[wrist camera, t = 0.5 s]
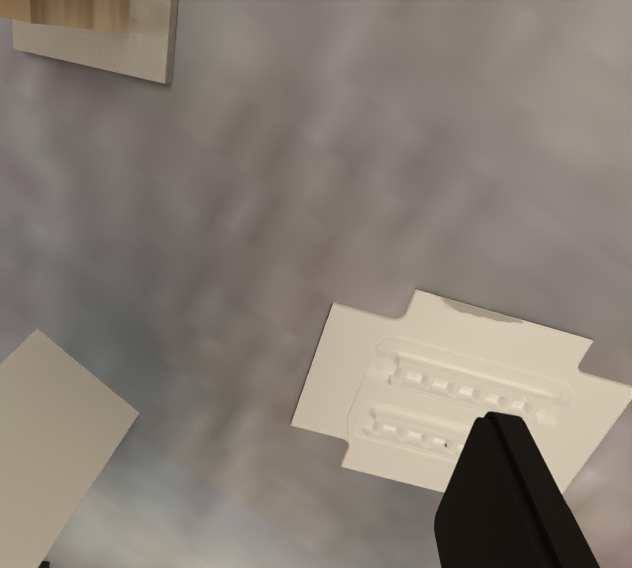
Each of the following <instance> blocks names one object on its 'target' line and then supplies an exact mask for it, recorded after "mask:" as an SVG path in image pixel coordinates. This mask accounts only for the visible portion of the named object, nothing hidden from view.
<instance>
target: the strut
mask: <svg viewBox="0 0 632 568" xmlns="http://www.w3.org/2000/svg"><path fill="white" fill-rule="evenodd" d="M0 16H2V17H6V18H10V19H15V20H19V21H23V22H28V23H33V24H43V25H53V26H62V27H72V28H81V29H91V30H101V31H110V32H120V33H129V21H130V0H0Z"/></svg>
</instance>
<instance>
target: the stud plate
mask: <svg viewBox="0 0 632 568" xmlns="http://www.w3.org/2000/svg"><path fill="white" fill-rule="evenodd" d="M177 11H178V0H130V21H129V33H120V32H110V31H101V30H91V29H81V28H72V27H62V26H53V25H43V24H33V23H28V22H23V21H19V20H15V19H12V35H13V49H16V50H20V51H25V52H29V53H34V54H38V55H42V56H47V57H51V58H55V59H60V60H64V61H68V62H73V63H77V64H81V65H86V66H90V67H94V68H99V69H103V70H107V71H112V72H116V73H121V74H125V75H129V76H134V77H138V78H142V79H147V80H151V81H155V82H160V83H164V84H166V83H172V77H173V64H174V51H175V38H176V24H177Z"/></svg>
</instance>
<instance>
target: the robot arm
mask: <svg viewBox="0 0 632 568" xmlns="http://www.w3.org/2000/svg"><path fill="white" fill-rule="evenodd" d="M434 531H435V538H436V543H437V548H438V553H439V558H440V563H441V568H600V567H599V565H598V563H597V561H596V559H595V557H594V555H593V553H592V551H591V549H590V547H589V545H588V543H587V541H586V539H585V537H584V535H583V533H582V531H581V529H580V527H579V526H578V524H577V522H576V520H575V518H574V516H573V514H572V512H571V510H570V508H569V507H568V505H567V504H566V502H565V500H564V498H563V496H562V494H561V492H560V490H559V488H558V486H557V484H556V482H555V480H554V478H553V476H552V474H551V472H550V470H549V468H548V466H547V464H546V462H545V460H544V459H543V457H542V455H541V453H540V451H539V449H538V447H537V445H536V443H535V441H534V439H533V437H532V435H531V433H530V431H529V429H528V427H527V425H526V423H525V421H524V420H523V418H522V417H520V416H516V415H511V414H505V413H499V412H494V411H489V412H487V413H486V414H485V416H484V418H483V417H477V418H476V419H475V421H474V423H473V425H472V428H471V430H470V433H469V435H468V437H467V440H466V442H465V445H464V447H463V449H462V452H461V454H460V457H459V459H458V461H457V464H456V466H455V469H454V471H453V474H452V476H451V478H450V481H449V483H448V486H447V488H446V490H445V493H444V495H443V498H442V500H441V502H440V505H439V507H438V510H437V512H436V515H435V522H434Z"/></svg>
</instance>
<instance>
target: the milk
mask: <svg viewBox="0 0 632 568" xmlns="http://www.w3.org/2000/svg"><path fill="white" fill-rule="evenodd" d="M138 415H139V413H138V412H137V411H136V410H135V409H134V408H132V407H131V406H130V405H129V404H128V403H126V402H125V401H124V400H123V399H121V398H120V397H119V396H118V395H117V394H115V393H114V392H113V391H112V390H111V389H109V388H108V387H107V386H106V385H105V384H103V383H102V382H101V381H100V380H99V379H97V378H96V377H95V376H94V375H93V374H91V373H90V372H89V371H88V370H87V369H85V368H84V367H83V366H82V365H80V364H79V363H78V362H77V361H76V360H74V359H73V358H72V357H71V356H70V355H68V354H67V353H66V352H65V351H64V350H62V349H61V348H60V347H59V346H58V345H56V344H55V343H54V342H53V341H52V340H50V339H49V338H48V337H47V336H46V335H44V334H43V333H42V332H41V331H39V330H38V329H36V330H35V331H34V332H33V333H32V334H31V335H30V336H29V337H28V338H26V339H25V340H24V341H23V342H22V343H21V344H20V345H19V346H18V347H17V348H16V349H14V350H13V351H12V352H11V353H10V354H9V355H8V356H7V357H6V358H5V359H4V360H2V361H1V362H0V568H38V567H39V565H40V564H41V562H42V561H43V559H44V558H45V556H46V555H47V553H48V551H49V550H50V548H51V547H52V545H53V544H54V542H55V541H56V539H57V538H58V536H59V535H60V533H61V532H62V530H63V529H64V527H65V526H66V524H67V523H68V521H69V520H70V518H71V517H72V515H73V513H74V512H75V510H76V509H77V507H78V506H79V504H80V503H81V501H82V500H83V498H84V497H85V495H86V494H87V492H88V491H89V489H90V488H91V486H92V485H93V483H94V482H95V480H96V479H97V477H98V475H99V474H100V472H101V471H102V469H103V468H104V466H105V465H106V463H107V462H108V460H109V459H110V457H111V456H112V454H113V453H114V451H115V450H116V448H117V447H118V445H119V444H120V442H121V440H122V439H123V437H124V436H125V434H126V433H127V431H128V430H129V428H130V427H131V425H132V424H133V422H134V421H135V419H136V418H137V416H138Z"/></svg>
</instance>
